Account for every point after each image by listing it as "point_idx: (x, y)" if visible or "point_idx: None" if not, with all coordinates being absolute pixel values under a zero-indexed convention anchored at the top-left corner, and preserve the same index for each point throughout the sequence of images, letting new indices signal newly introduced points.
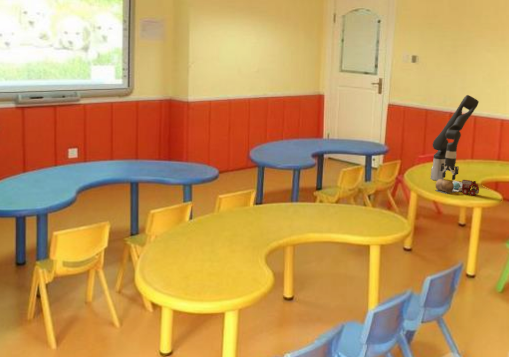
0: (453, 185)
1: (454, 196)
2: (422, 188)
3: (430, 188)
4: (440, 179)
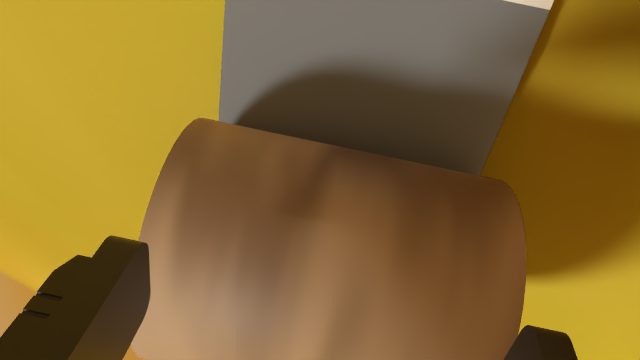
0: (520, 237)
1: (599, 328)
2: (24, 241)
3: (66, 158)
4: (165, 345)
